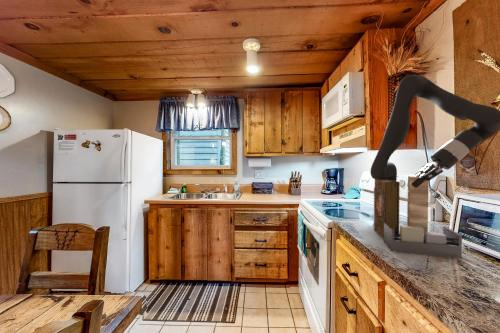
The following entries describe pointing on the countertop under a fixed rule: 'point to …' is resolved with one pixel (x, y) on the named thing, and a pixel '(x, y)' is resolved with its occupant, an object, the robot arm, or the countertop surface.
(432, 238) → the pale grey block
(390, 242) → the rack
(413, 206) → the birch board
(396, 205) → the book
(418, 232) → the sage offcut
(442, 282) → the countertop surface
